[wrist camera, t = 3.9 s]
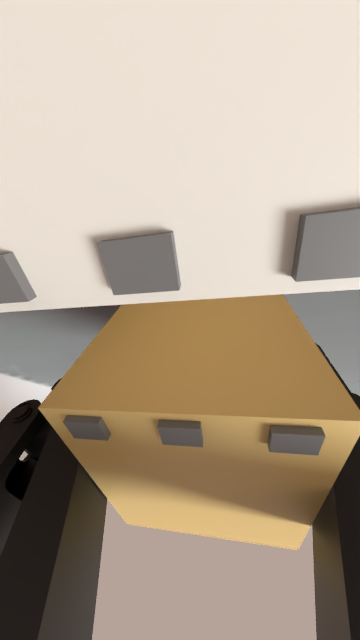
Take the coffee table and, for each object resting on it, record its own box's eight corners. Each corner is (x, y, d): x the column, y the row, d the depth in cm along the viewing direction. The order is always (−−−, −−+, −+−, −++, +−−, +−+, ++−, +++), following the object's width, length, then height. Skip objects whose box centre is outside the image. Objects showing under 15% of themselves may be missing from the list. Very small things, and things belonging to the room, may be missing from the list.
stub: (156, 261, 13) (32, 414, 4) (254, 251, 12) (373, 430, 3) (173, 346, 17) (125, 529, 8) (249, 345, 16) (299, 556, 7)
